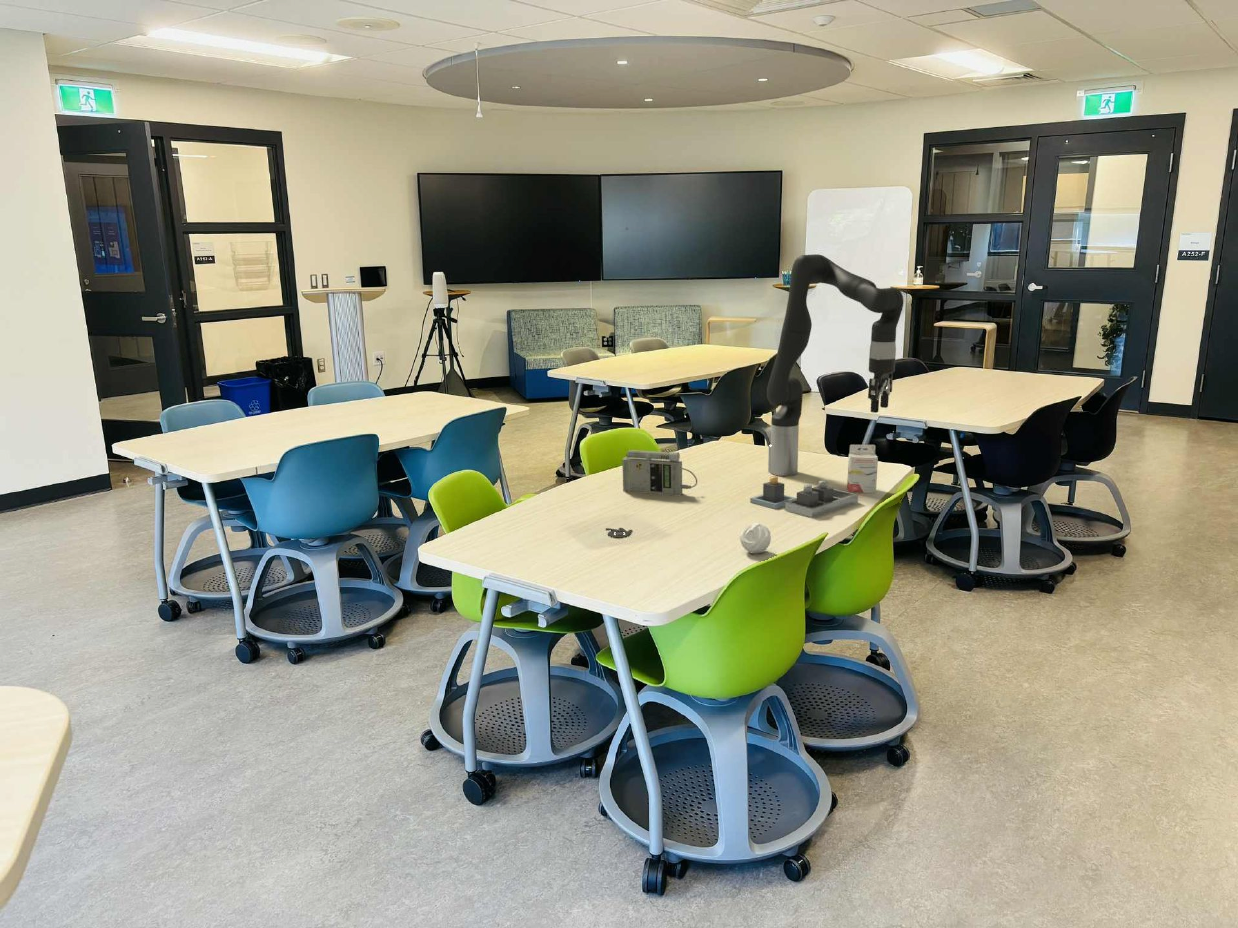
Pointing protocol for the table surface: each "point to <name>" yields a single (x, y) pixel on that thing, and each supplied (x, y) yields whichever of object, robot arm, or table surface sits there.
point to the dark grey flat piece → (618, 533)
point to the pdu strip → (823, 504)
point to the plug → (773, 490)
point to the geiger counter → (653, 473)
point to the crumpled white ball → (755, 538)
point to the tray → (760, 501)
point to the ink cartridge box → (862, 469)
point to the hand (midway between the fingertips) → (879, 409)
